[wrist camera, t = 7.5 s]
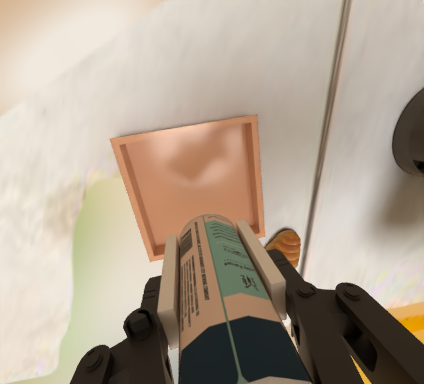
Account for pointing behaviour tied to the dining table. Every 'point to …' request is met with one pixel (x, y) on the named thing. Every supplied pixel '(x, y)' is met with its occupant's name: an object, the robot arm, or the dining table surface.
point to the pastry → (287, 245)
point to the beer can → (228, 313)
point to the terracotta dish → (192, 177)
